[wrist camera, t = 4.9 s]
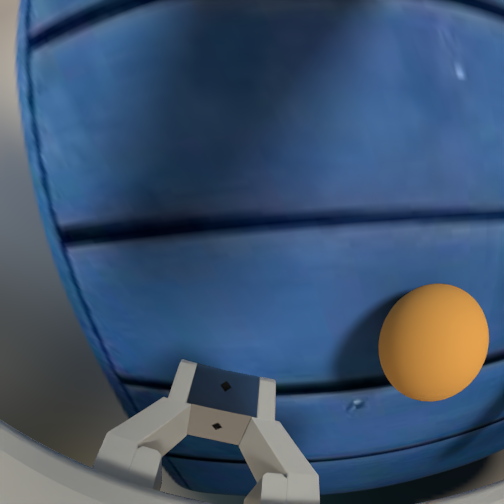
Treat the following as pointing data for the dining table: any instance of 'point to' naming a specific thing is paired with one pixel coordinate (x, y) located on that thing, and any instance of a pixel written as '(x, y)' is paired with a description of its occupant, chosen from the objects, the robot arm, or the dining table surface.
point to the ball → (433, 342)
